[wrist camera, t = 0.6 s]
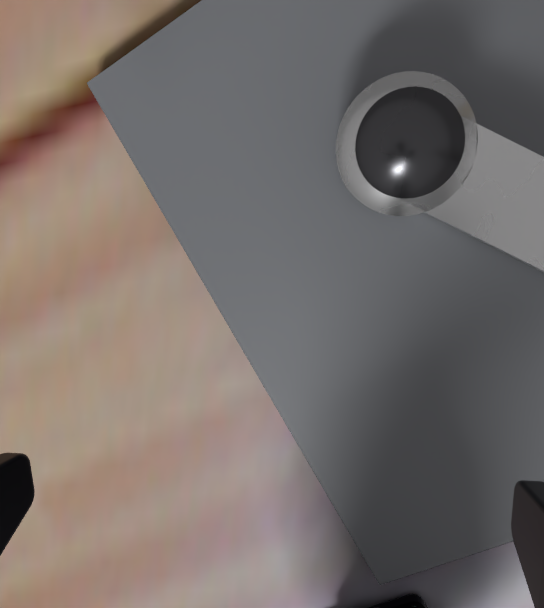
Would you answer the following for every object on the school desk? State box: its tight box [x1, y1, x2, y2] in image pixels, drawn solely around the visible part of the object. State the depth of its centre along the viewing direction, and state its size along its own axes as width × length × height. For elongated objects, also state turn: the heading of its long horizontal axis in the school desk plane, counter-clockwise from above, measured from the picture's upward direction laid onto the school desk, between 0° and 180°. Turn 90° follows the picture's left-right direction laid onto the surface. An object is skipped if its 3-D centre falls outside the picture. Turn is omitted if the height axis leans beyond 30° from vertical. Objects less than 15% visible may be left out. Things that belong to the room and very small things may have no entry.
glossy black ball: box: [355, 86, 465, 199], centre depth 15 cm, size 3×3×1 cm
